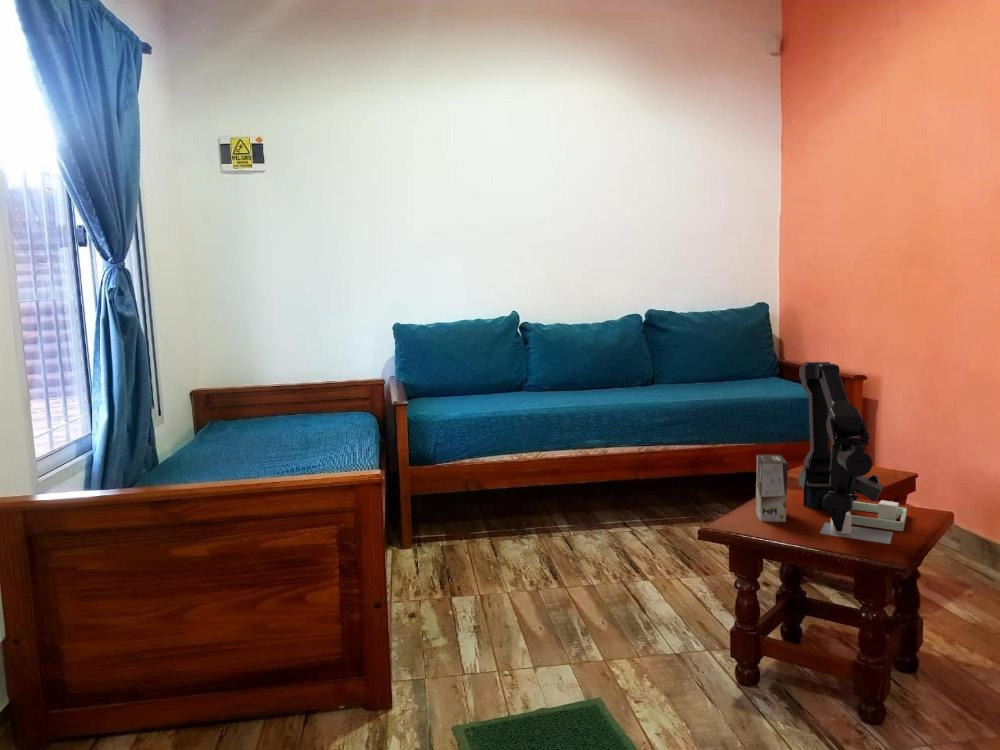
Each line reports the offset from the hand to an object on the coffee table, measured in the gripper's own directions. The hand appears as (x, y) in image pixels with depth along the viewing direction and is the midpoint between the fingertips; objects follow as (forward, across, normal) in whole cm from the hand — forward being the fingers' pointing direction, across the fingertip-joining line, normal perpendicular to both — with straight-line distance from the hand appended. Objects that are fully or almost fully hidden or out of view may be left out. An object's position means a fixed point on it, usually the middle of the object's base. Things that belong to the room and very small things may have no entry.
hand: (840, 528), depth 182 cm
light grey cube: (+1, +16, -9) cm, 18 cm away
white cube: (0, 0, 0) cm, 0 cm away
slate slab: (+2, 0, -4) cm, 4 cm away
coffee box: (+2, +4, +17) cm, 17 cm away
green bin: (+2, +13, -5) cm, 14 cm away
